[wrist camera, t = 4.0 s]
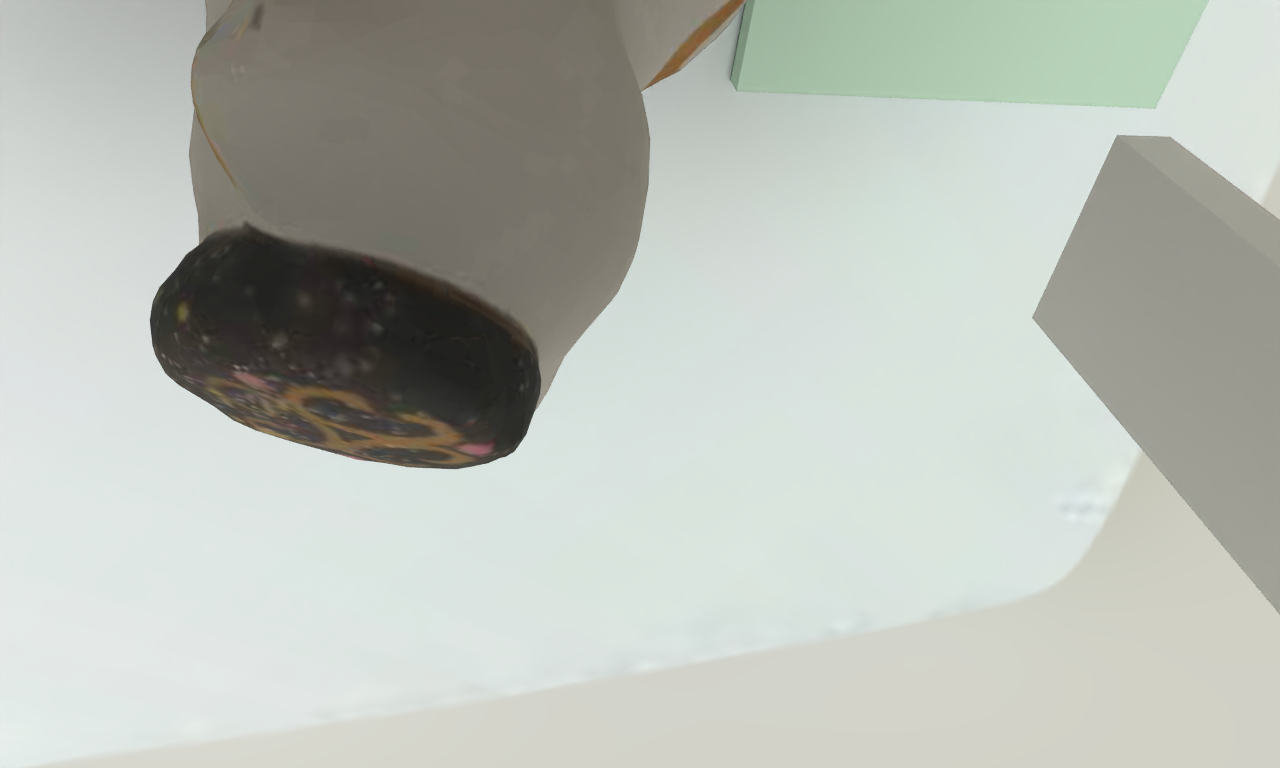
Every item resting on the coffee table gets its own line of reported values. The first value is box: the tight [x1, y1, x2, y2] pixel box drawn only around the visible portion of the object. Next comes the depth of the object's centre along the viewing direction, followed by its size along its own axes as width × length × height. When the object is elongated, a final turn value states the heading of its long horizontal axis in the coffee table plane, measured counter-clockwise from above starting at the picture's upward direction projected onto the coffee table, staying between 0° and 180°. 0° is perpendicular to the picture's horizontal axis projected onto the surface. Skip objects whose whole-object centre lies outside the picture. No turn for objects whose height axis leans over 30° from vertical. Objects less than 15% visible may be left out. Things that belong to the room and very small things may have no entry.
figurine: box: [150, 0, 747, 469], centre depth 15 cm, size 9×10×15 cm
